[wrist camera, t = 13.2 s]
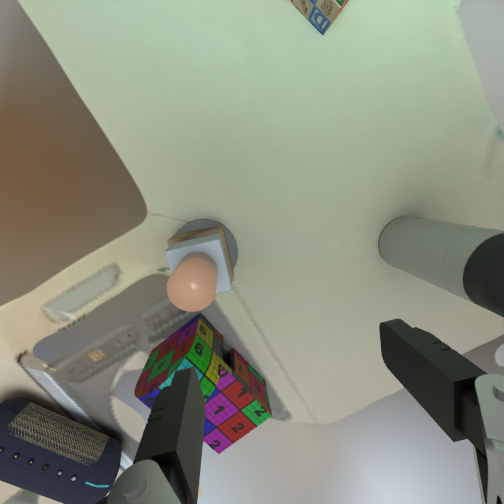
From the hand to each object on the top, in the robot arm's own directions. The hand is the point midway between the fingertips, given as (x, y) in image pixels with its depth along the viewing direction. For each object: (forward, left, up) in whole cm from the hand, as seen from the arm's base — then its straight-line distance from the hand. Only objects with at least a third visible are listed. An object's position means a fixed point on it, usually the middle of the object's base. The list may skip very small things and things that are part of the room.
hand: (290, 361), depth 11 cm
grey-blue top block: (+7, +2, -28) cm, 29 cm away
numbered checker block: (+13, +28, -35) cm, 46 cm away
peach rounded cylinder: (+7, +2, -23) cm, 24 cm away
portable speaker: (+41, +30, -34) cm, 61 cm away
